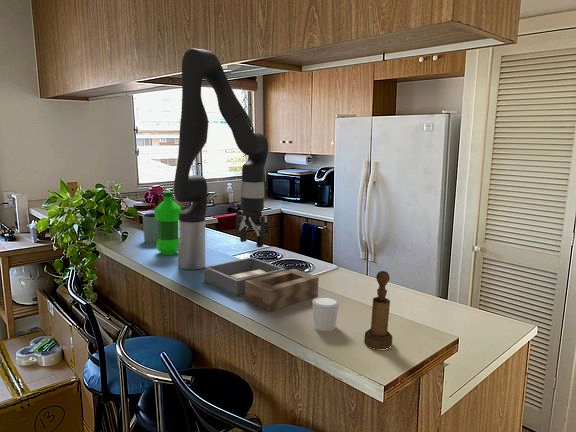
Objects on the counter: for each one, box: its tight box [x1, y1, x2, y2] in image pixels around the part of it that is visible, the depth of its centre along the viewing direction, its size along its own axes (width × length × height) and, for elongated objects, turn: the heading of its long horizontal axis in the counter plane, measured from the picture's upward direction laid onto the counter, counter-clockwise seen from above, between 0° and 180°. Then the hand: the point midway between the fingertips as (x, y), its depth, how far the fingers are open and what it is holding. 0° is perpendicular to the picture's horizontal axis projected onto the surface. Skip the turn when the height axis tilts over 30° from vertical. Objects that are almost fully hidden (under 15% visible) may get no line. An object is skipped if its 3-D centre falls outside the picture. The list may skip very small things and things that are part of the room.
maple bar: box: [230, 270, 267, 280], centre depth 146 cm, size 12×4×2 cm, turn 129°
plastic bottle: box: [153, 190, 182, 256], centre depth 176 cm, size 10×10×25 cm
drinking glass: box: [141, 212, 158, 245], centre depth 196 cm, size 10×10×12 cm
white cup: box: [311, 296, 340, 332], centre depth 114 cm, size 7×7×7 cm
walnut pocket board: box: [243, 268, 320, 312], centre depth 133 cm, size 20×11×6 cm, turn 133°
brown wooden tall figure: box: [363, 270, 393, 350], centre depth 104 cm, size 7×6×18 cm
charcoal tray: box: [203, 256, 287, 298], centre depth 146 cm, size 20×18×5 cm
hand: (251, 244), depth 146 cm, fingers open, 8 cm apart
